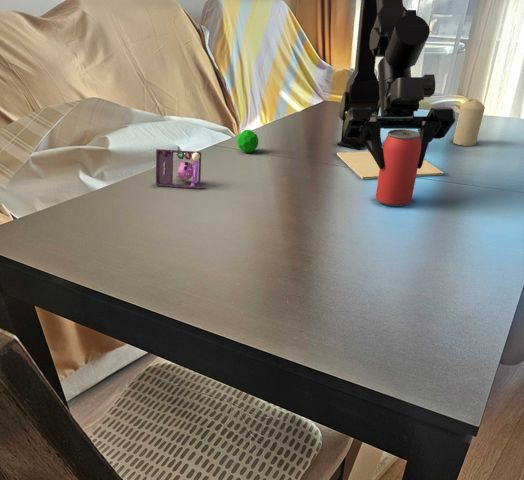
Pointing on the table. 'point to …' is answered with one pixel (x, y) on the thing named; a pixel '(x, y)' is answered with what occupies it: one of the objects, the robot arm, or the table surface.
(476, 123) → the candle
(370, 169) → the centre mat
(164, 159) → the packaged toy box
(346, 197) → the table surface
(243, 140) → the polyhedron
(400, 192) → the beer can
